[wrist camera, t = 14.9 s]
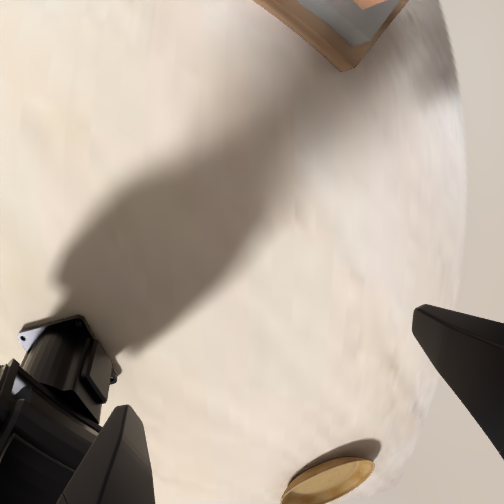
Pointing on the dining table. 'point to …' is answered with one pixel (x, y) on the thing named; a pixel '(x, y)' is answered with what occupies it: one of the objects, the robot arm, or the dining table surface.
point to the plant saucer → (328, 481)
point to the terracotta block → (367, 3)
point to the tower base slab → (324, 31)
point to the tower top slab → (351, 17)
